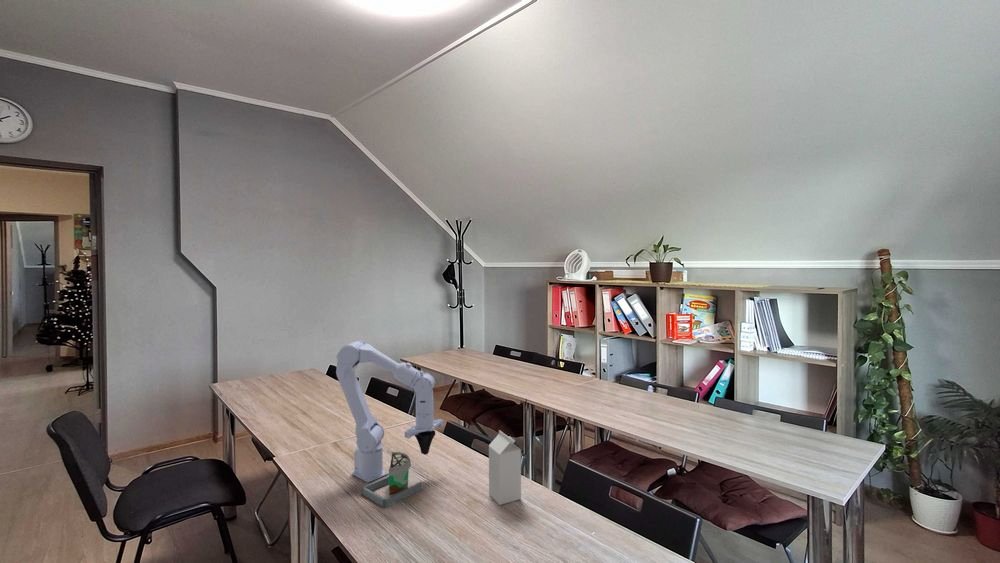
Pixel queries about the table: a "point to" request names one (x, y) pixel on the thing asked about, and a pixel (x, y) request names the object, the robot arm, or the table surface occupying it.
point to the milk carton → (504, 469)
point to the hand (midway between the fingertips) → (424, 453)
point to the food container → (398, 472)
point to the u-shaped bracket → (392, 499)
